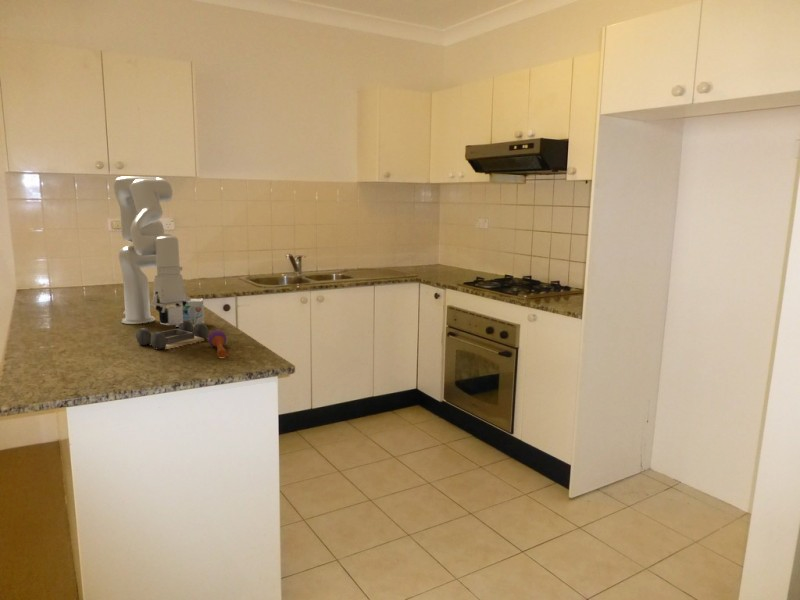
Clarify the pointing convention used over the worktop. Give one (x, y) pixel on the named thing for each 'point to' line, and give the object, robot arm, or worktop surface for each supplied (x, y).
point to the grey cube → (174, 315)
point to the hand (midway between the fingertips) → (171, 321)
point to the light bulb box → (194, 311)
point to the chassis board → (173, 335)
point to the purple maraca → (218, 342)
